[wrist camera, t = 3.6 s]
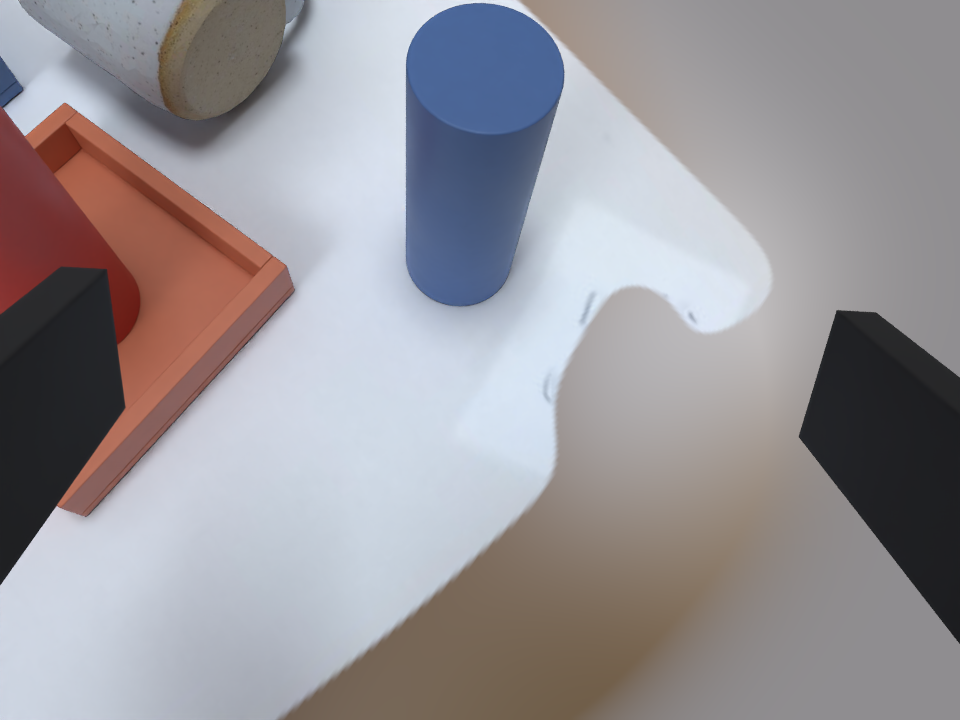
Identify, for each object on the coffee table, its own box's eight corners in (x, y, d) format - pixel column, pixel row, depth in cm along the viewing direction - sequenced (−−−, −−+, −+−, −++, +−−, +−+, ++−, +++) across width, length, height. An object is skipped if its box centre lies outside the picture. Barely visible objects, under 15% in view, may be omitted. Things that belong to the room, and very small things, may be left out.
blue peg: (531, 250, 34) (594, 58, 22) (469, 326, 32) (504, 164, 21) (448, 192, 34) (469, -24, 23) (384, 265, 33) (373, 73, 21)
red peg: (165, 298, 31) (25, 107, 20) (81, 383, 30) (-121, 231, 18) (81, 234, 31) (-101, 13, 20) (-5, 315, 30) (-253, 126, 19)
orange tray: (295, 290, 32) (287, 265, 30) (86, 517, 28) (60, 508, 26) (86, 135, 33) (64, 101, 31) (-138, 334, 30) (-180, 311, 28)
